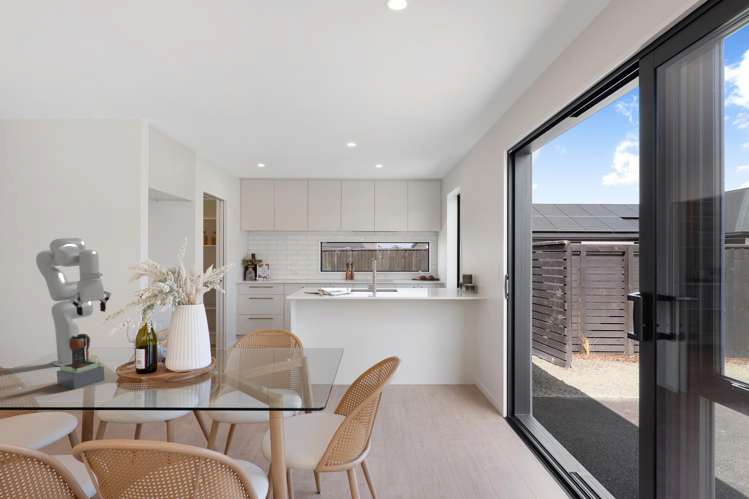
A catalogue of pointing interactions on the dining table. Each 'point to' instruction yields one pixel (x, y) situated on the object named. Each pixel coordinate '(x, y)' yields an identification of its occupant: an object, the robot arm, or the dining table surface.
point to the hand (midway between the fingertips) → (91, 313)
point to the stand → (80, 375)
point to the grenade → (79, 350)
